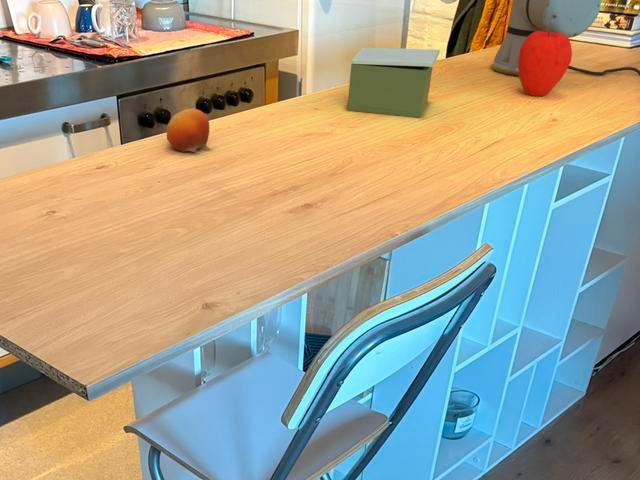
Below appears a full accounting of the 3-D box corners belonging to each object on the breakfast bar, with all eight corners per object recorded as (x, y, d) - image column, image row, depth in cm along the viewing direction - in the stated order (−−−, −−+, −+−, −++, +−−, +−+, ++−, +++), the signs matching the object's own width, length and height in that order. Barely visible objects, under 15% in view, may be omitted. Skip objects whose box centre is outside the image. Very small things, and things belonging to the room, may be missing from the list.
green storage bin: (427, 102, 185) (434, 57, 179) (420, 117, 174) (427, 71, 169) (358, 95, 188) (362, 51, 182) (347, 110, 177) (351, 64, 172)
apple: (564, 92, 196) (580, 28, 188) (559, 102, 188) (575, 36, 179) (514, 86, 199) (528, 23, 191) (507, 96, 191) (520, 31, 182)
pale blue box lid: (439, 53, 178) (439, 49, 178) (432, 66, 168) (433, 62, 167) (362, 51, 182) (362, 47, 181) (351, 63, 172) (351, 59, 171)
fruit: (202, 151, 147) (182, 106, 144) (172, 167, 152) (153, 124, 149) (226, 141, 152) (208, 97, 149) (197, 157, 157) (179, 115, 155)
